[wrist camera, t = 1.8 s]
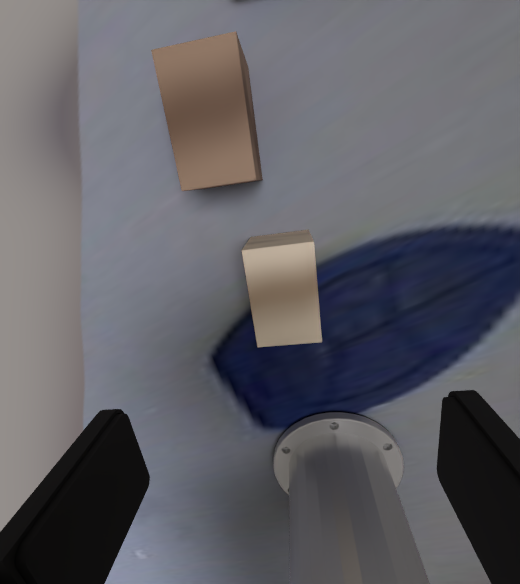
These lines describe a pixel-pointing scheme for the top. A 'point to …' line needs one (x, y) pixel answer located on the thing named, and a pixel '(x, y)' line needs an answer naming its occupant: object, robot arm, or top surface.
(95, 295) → the top surface
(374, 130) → the top surface
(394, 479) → the robot arm
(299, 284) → the maple brick
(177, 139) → the walnut brick
